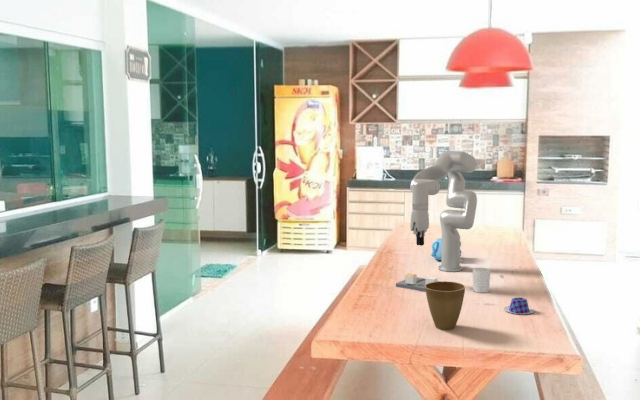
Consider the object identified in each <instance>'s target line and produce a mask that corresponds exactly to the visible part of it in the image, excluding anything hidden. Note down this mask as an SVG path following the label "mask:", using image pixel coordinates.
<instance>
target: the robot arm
mask: <svg viewBox="0 0 640 400" xmlns="http://www.w3.org/2000/svg"><path fill="white" fill-rule="evenodd" d="M477 165H478V163H477V159H476V158H475V156H473V155H472V154H470V153H468V152H465V151H461V150H460V151H459V150H446V151H443V152H442V153H440V154H439V156H438V158H437V159H436V160H435V161H434V162H433V165H431V166H428V167H426V168H424V169H422V170H420V171H419V172H418V173H416V174H415V175H414V176H413V179H411V182H410V185H409V189H410V192H411V193H412V200H411V201H412V202H411V203H412V210H411V214H410V223H409V224H410V231H411V232H413V235H415V238H416V239H415V240H416V242H415V243H416V246H421V247H423V246H424V245H425V235H426V233H427V232H428V229H430V214H429V196H435V195H437V194H439V192H440V191H441V184H440V182H439V180H442V179H445V178H446V177H448V184H447V185H448V187H447V194H446V199H445V203H446V206H447V207H449V208H452V209H446V210H445V209H444V210H443V211H441V212H440V215H439V222H440V228H441V229H440V230H441V238H442V256H441V260H440V262H441V264H440V265H439V266H438V270H439V271H442V272H443V271H444V272H450V273H451V272H453V273H455V272H461V271H463V269H464V268H463V266H462V265H460V264H462V263H463V259H461V256H460V250H461V246H460V242H461V235H460V232H459V231H458V230H471V229H472V228H473V226H474V223H475V217H476V211H477V204H478V198H477V194H476V192H475V191H473V190H465V188H466V180H465V177H464V176H463V174H461V173H470V174H471V173H473V172H474V171H476V169H477ZM458 209H464V210H458Z"/></svg>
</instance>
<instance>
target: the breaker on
mask: <svg viewBox="0 0 640 400" xmlns="http://www.w3.org/2000/svg"><path fill="white" fill-rule="evenodd" d="M425 279H426V284H428V283H432V282H437V281H438V278H437V277H431V276H428V277H425Z"/></svg>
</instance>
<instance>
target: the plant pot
mask: <svg viewBox="0 0 640 400" xmlns="http://www.w3.org/2000/svg"><path fill="white" fill-rule="evenodd" d="M440 281H441V280H440ZM425 290H426V292H425V295H426V301H427V305H428V309H429V312H430V316H431V318H432V321H433V324H434V326H435V328H437V329H438V330H443V331H445V330H447V331H449V330H452V329H455V328H456V326H457V323H458V320H459V318H460V314H461V311H462V307H463V304H464V298H465V294H466V293H465V291H466V286H465V284H463V283H460V282H456V281H441V282H432V283H428V284H426V285H425Z"/></svg>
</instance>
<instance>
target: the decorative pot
mask: <svg viewBox="0 0 640 400" xmlns="http://www.w3.org/2000/svg"><path fill="white" fill-rule="evenodd" d="M461 245H462V241H460V247H461ZM430 256H431V257H433V258H434V259H435V260H436V261H437V260H438V261H441V256H442V237H441V238H436V239H435V241H433V242H431V252H430ZM461 256H462V250H461V249H460V257H461Z"/></svg>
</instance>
